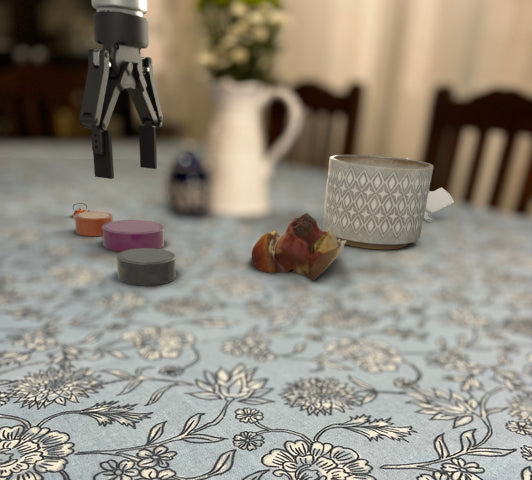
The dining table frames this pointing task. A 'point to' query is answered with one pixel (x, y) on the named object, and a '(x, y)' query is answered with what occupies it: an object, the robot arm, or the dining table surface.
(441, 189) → the figurine
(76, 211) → the teapot
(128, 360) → the dining table surface
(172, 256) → the dark gray disc
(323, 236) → the reddish lumpy part
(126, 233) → the purple disc
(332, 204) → the planter
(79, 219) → the terracotta dish
